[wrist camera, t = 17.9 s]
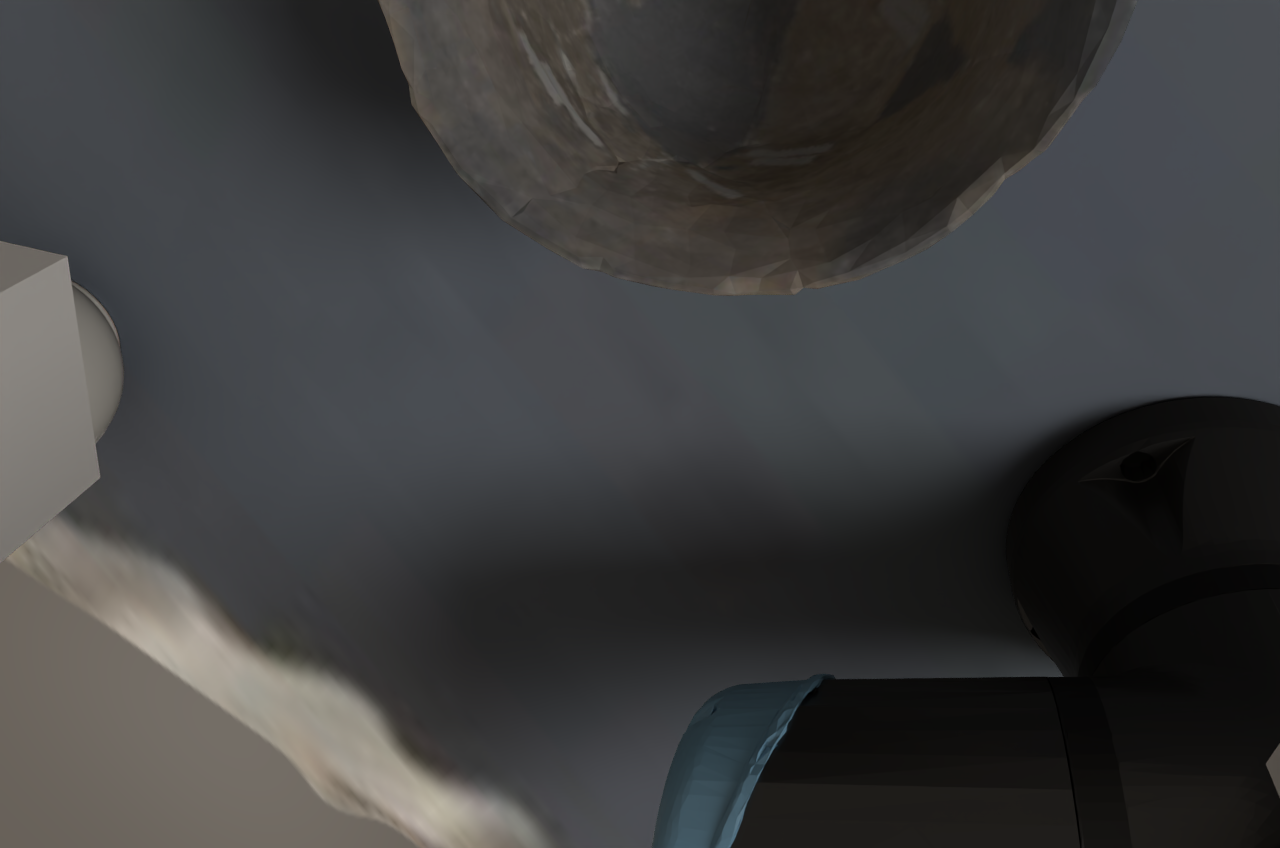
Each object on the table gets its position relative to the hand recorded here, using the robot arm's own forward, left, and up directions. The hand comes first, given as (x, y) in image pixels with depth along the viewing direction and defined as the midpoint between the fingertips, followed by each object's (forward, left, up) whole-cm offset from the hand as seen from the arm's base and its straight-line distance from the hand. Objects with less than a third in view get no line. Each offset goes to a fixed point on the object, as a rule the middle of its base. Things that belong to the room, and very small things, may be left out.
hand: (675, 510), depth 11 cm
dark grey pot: (+3, +2, -32) cm, 33 cm away
